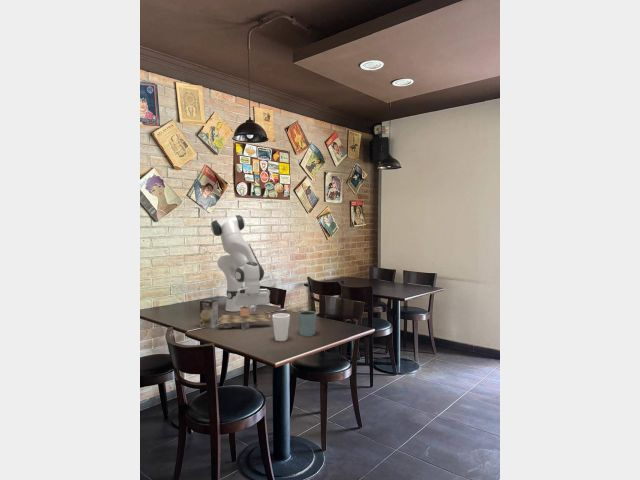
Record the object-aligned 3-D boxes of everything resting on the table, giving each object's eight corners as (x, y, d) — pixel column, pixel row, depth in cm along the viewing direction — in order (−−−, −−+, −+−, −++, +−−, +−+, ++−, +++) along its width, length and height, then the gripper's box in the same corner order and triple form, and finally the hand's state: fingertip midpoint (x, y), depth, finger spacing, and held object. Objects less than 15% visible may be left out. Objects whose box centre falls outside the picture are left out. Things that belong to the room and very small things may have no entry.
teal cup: (303, 337, 215) (302, 315, 215) (295, 332, 224) (295, 311, 224) (319, 334, 220) (319, 313, 219) (311, 330, 229) (311, 309, 228)
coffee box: (199, 327, 237) (198, 300, 236) (205, 324, 243) (205, 298, 242) (212, 328, 234) (212, 301, 233) (218, 325, 240) (218, 299, 239)
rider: (248, 315, 239) (248, 305, 239) (249, 318, 233) (249, 307, 232) (240, 315, 238) (240, 305, 238) (240, 318, 232) (240, 308, 231)
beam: (269, 324, 243) (269, 312, 242) (270, 327, 235) (270, 315, 235) (219, 327, 236) (219, 314, 236) (219, 330, 229) (218, 318, 228)
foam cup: (272, 336, 216) (272, 313, 216) (289, 336, 217) (289, 313, 216) (272, 342, 207) (272, 317, 206) (289, 341, 208) (289, 317, 207)
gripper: (269, 287, 241) (269, 310, 242) (235, 289, 236) (235, 312, 237) (270, 289, 235) (270, 312, 235) (235, 291, 230) (235, 314, 231)
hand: (252, 312), depth 236 cm, fingers closed
